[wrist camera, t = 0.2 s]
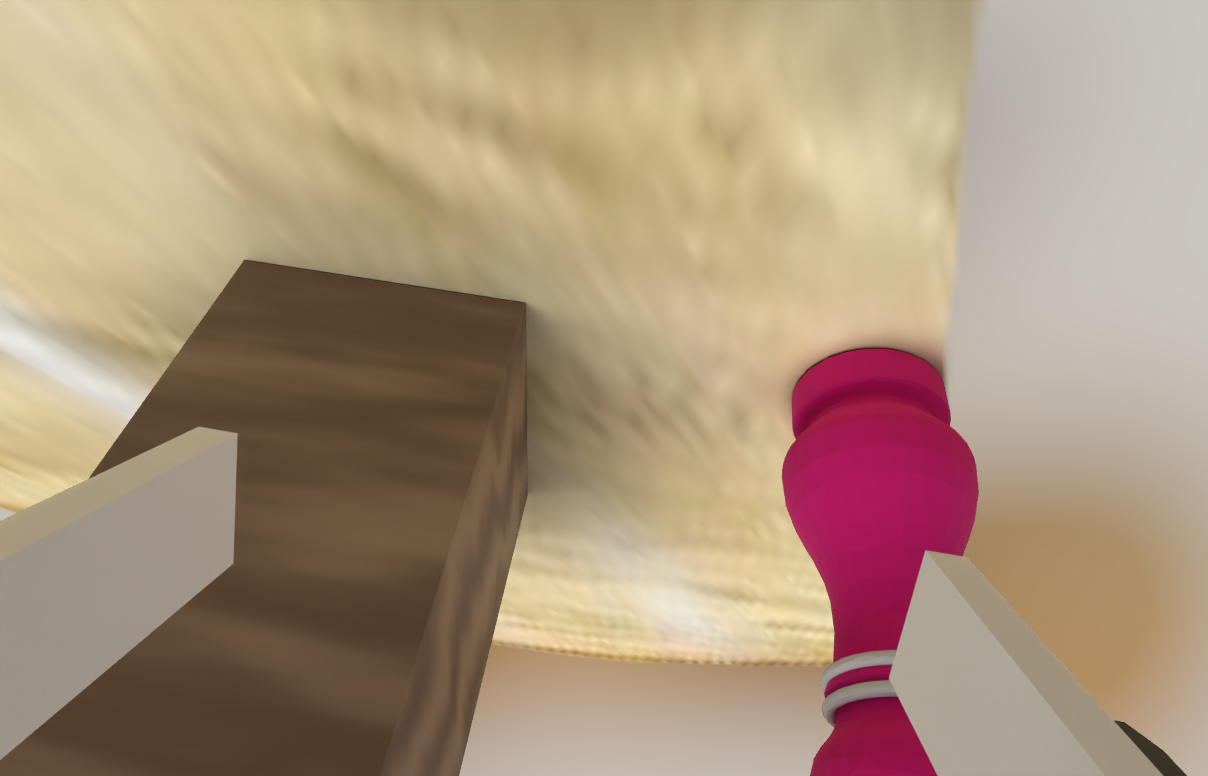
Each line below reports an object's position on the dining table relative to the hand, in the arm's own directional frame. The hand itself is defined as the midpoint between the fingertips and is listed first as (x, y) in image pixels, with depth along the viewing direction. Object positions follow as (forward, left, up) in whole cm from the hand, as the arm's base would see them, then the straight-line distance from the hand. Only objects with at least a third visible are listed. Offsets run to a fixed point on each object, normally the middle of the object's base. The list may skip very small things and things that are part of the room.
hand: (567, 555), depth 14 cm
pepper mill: (+11, +11, -16) cm, 22 cm away
